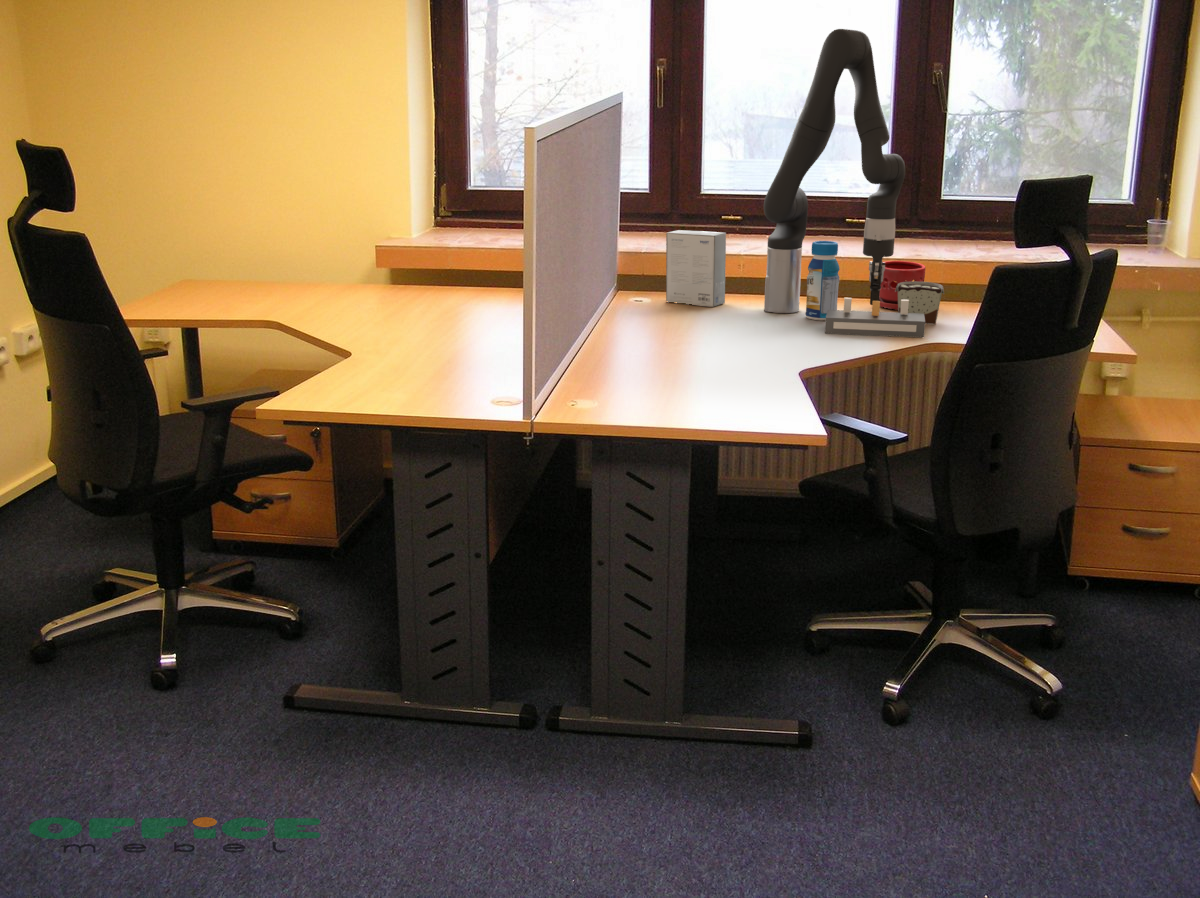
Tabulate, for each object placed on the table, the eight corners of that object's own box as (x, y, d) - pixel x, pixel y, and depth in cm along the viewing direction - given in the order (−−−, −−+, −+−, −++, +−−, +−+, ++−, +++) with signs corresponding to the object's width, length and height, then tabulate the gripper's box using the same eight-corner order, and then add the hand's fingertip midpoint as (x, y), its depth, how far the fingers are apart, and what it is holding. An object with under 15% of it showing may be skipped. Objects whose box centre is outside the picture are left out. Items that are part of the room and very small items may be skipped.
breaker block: (824, 333, 292) (825, 317, 291) (826, 325, 302) (827, 309, 301) (923, 337, 287) (925, 321, 286) (922, 329, 296) (924, 313, 295)
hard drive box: (725, 303, 331) (727, 232, 324) (713, 308, 324) (715, 235, 318) (677, 298, 339) (678, 228, 332) (664, 302, 332) (665, 232, 326)
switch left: (843, 312, 296) (844, 298, 295) (843, 311, 297) (844, 297, 296) (850, 312, 296) (851, 298, 295) (850, 311, 297) (851, 297, 296)
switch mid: (871, 315, 292) (872, 301, 291) (871, 314, 293) (872, 300, 292) (879, 315, 291) (879, 301, 290) (879, 314, 293) (880, 300, 292)
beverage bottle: (835, 321, 306) (839, 245, 299) (802, 320, 308) (806, 244, 302) (838, 315, 313) (843, 240, 307) (807, 314, 316) (810, 239, 309)
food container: (943, 320, 307) (946, 282, 304) (941, 325, 301) (944, 286, 298) (895, 317, 311) (897, 280, 308) (892, 322, 305) (895, 284, 302)
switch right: (900, 314, 293) (901, 300, 292) (900, 313, 294) (901, 299, 293) (907, 314, 293) (908, 300, 292) (907, 313, 294) (908, 299, 293)
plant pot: (864, 307, 324) (867, 264, 321) (892, 301, 332) (895, 258, 329) (904, 314, 315) (907, 269, 311) (931, 307, 323) (935, 264, 319)
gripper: (865, 232, 299) (860, 299, 304) (862, 239, 287) (858, 309, 292) (895, 233, 297) (889, 300, 303) (894, 240, 285) (888, 310, 290)
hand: (874, 304), depth 297 cm, fingers closed
